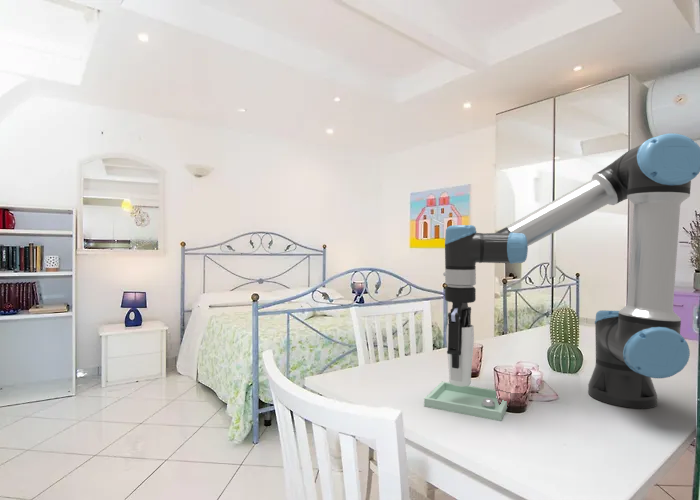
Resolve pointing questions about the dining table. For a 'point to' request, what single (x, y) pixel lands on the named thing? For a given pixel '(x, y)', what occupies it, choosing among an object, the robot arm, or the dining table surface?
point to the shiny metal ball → (488, 403)
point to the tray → (465, 400)
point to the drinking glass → (463, 356)
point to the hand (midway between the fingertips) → (460, 376)
